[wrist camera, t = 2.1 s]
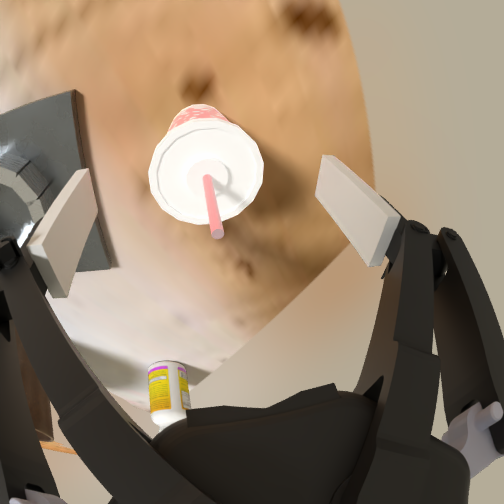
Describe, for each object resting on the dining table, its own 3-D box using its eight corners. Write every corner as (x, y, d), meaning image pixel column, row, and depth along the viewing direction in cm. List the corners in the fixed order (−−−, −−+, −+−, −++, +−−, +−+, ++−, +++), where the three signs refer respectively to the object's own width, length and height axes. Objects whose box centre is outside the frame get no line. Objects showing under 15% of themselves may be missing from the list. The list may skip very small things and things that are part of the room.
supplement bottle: (143, 372, 43) (147, 440, 34) (154, 356, 40) (159, 432, 31) (178, 378, 47) (186, 442, 37) (192, 363, 44) (202, 434, 34)
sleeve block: (-56, 144, 12) (-75, 158, 9) (74, 89, 15) (57, 96, 13) (-6, 273, 23) (-15, 294, 21) (111, 262, 27) (106, 286, 24)
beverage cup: (187, 81, 18) (188, 122, 7) (251, 119, 21) (327, 207, 11) (147, 145, 20) (113, 262, 10) (209, 176, 24) (238, 304, 13)
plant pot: (74, 361, 38) (69, 447, 26) (10, 352, 34) (-3, 429, 22) (43, 306, 29) (21, 418, 17) (-28, 299, 24) (-56, 390, 13)
